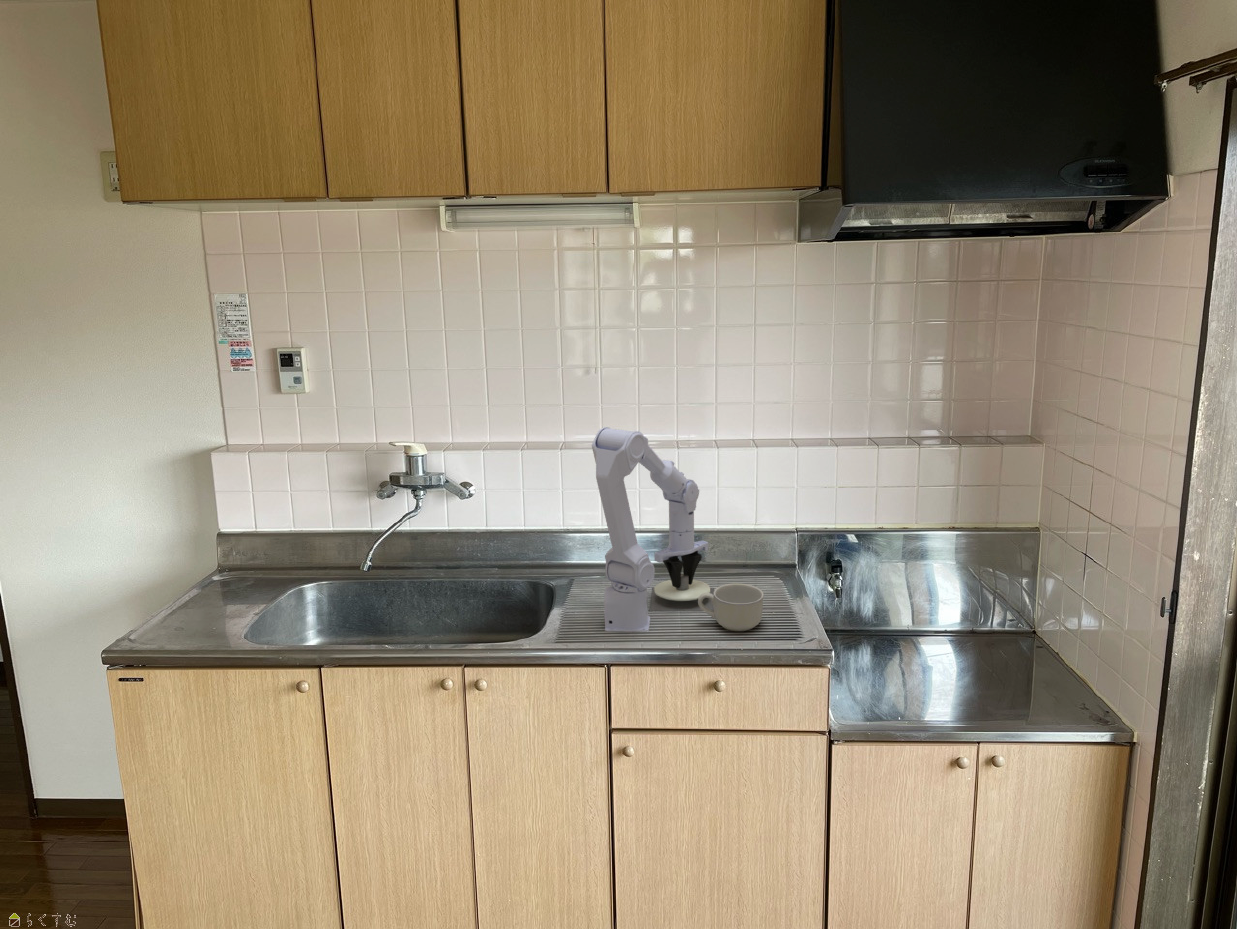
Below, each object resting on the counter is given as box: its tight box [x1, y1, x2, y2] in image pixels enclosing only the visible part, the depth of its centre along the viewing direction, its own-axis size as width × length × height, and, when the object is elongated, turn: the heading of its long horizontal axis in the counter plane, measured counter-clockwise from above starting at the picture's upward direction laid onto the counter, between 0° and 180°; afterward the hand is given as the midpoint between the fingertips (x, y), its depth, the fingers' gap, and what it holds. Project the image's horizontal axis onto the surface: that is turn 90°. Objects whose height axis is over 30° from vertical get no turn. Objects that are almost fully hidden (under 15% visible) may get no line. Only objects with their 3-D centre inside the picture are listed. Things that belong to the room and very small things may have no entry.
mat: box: [648, 587, 715, 612], centre depth 215 cm, size 15×15×1 cm
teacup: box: [698, 583, 765, 632], centre depth 198 cm, size 14×11×8 cm
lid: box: [653, 573, 711, 601], centre depth 214 cm, size 13×13×4 cm
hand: (682, 585), depth 214 cm, fingers closed on lid, 3 cm apart
